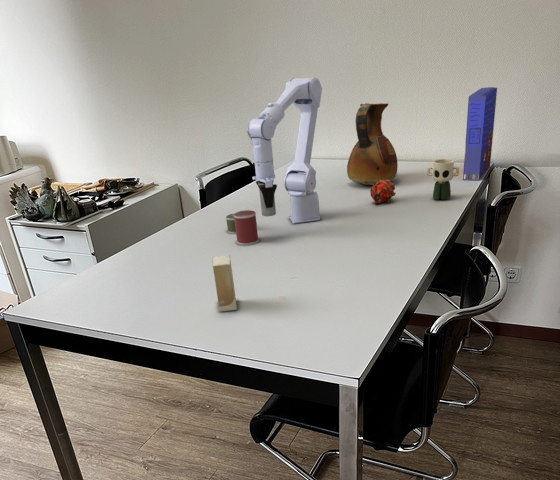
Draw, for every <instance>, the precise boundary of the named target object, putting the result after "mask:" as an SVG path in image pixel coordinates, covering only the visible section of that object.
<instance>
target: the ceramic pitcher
mask: <svg viewBox="0 0 560 480" xmlns="http://www.w3.org/2000/svg"><path fill="white" fill-rule="evenodd" d="M359 106H360V107H359V108H358V109H357V112H356V113H355V131H356V136H357V141H356V143H355V145H354V146H353V148H352V150H351V152H350V154H349V158H348V161H347V165H346V175H347V178H348V179H349V180H350V181H352V182H356V183H358V184H363V185H370V186H373V185H374V183H375V182H380V179H383V180H384V181H386V180H390V181H391V180H394V179H395V178H396V176H397V174H398V167H399V166H398V165H399V164H398V156H397V152H396V149H395V147H394V146H393V144H392V142H391V141H390V140H389V138H388V137H387V136H386V135H384V132H383V130H382V120H383V113H384V111H385V110H386V108H387V107H388V106H389V102H387V103H384V102H383V103H382V102H380V103H379V102H378V103H369V102H366V103H360V104H359Z"/></svg>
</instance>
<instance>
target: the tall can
mask: <svg viewBox="0 0 560 480" xmlns="http://www.w3.org/2000/svg"><path fill="white" fill-rule="evenodd" d="M234 220H235V228H236V234H235V235H236V243H237V244H238V245H241V246H250V245H254V244H256V243H259V242H260V240H259V234H258V233H259V232H258V223H257V213H256V211H255V210H251V209H250V210H249V209H247V210H240V211H236V212H234Z"/></svg>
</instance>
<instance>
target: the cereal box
mask: <svg viewBox="0 0 560 480" xmlns="http://www.w3.org/2000/svg"><path fill="white" fill-rule="evenodd" d="M497 95H498V87H491V86H490V87H489V86H488V87H481V88H479V89H478V90H476V91H475V92H472V94H470V95H469V96H468V102H467V113H466V114H467V115H466V116H467V117H466V131H465V144H464V145H465V146H464V159H463V174H462V175H463V177H462V180H463V181H480V180H481V178H482V177H483V176H484V175H485V174H486V173H487V171H488V170H489V169H490V168H491V161H492V150H493V141H494V140H493V138H494V130H495V129H494V127H495V118H496V116H495V115H496V105H497Z"/></svg>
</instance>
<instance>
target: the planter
mask: <svg viewBox="0 0 560 480" xmlns="http://www.w3.org/2000/svg"><path fill="white" fill-rule="evenodd" d="M259 185H264V182H261V181H260V182H259ZM272 185H274V182H273V181H272ZM258 192H259V201H260V209H261V210H260V211H261V216H263V217H273V216H276V214H277V210H276V198H275V196H274V202H273V207H272V208H266V206H265V203H264V199H263V195H262V193H261V190H260V189H259V188H258Z"/></svg>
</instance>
